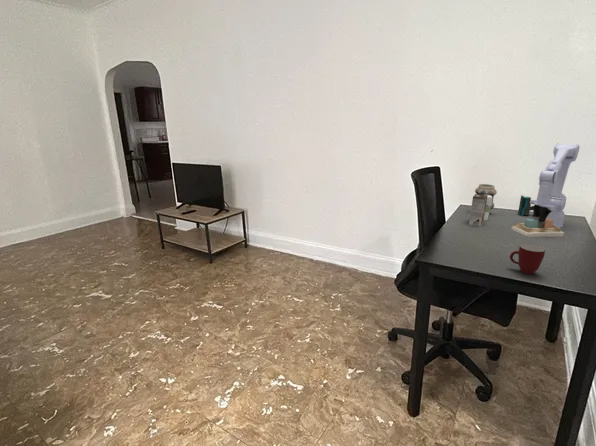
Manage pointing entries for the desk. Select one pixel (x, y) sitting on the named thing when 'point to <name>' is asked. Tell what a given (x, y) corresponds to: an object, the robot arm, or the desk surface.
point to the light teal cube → (531, 223)
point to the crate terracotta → (548, 223)
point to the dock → (538, 233)
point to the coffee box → (478, 209)
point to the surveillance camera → (524, 206)
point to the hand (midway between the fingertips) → (539, 220)
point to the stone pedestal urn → (486, 191)
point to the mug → (529, 258)
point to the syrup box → (488, 207)
